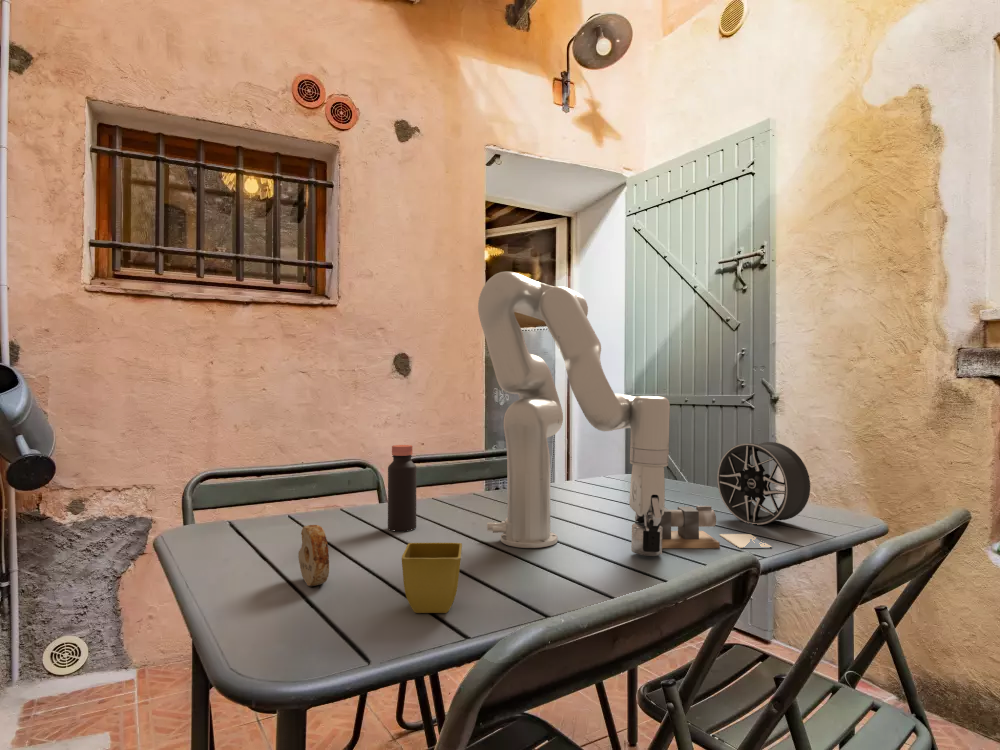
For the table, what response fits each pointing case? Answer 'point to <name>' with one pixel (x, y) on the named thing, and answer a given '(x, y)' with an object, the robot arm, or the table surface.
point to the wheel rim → (762, 482)
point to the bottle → (402, 489)
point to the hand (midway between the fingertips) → (646, 545)
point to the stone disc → (314, 555)
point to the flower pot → (431, 575)
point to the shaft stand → (688, 527)
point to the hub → (638, 540)
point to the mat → (741, 539)
